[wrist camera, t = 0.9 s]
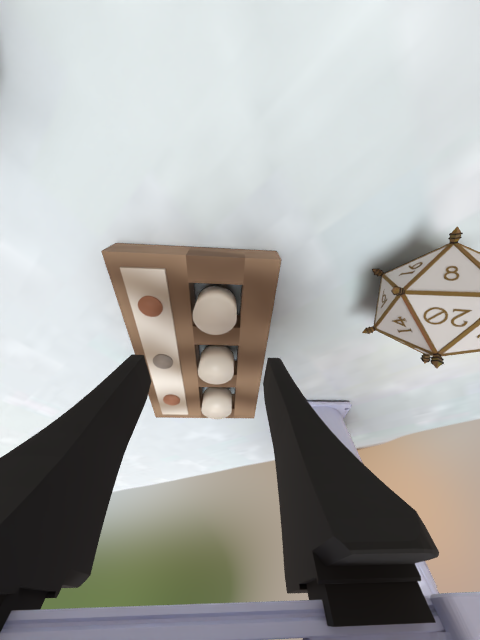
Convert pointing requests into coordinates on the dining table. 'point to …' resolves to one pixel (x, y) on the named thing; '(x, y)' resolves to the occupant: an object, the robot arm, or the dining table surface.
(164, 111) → the dining table surface
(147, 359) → the button board
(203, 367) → the button middle
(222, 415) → the button
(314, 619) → the robot arm
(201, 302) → the button
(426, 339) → the game die
